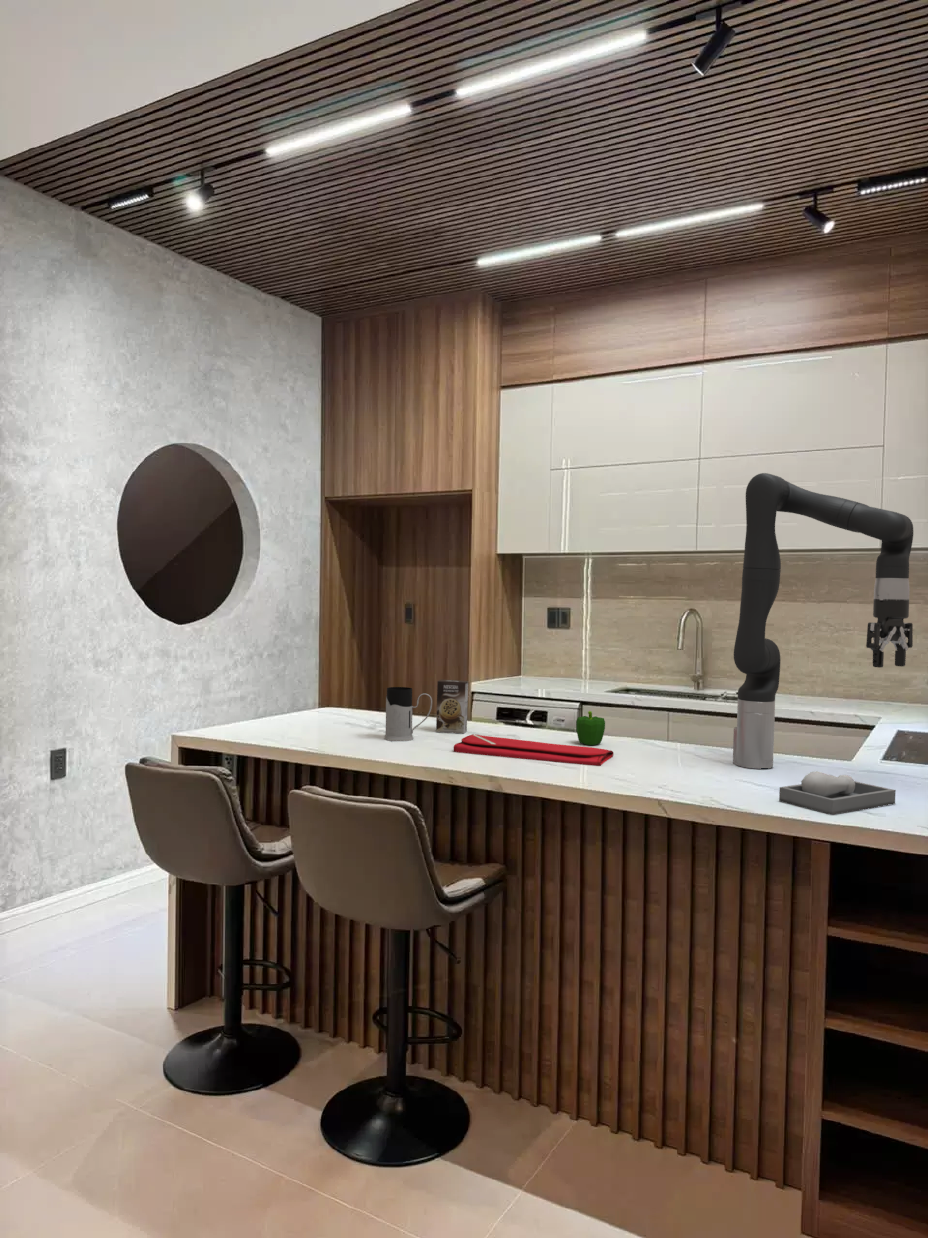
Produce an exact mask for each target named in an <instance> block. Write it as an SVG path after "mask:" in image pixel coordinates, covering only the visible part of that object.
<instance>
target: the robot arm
mask: <svg viewBox="0 0 928 1238" xmlns="http://www.w3.org/2000/svg"><path fill="white" fill-rule="evenodd" d="M777 512H781V513H789V514H796V515H800V516H804V517H808V518H811V519H813V520H816V521H818V522H820V523H824V524H826V525H829V526H832V527H834V528H835V527H836V528H838V529H841V530H845V531H849V532H852V533H858V534H859V533H860V534H862V535H865V536H868V537H871V538H874V539H876V540H880V541H881V545H880V553H879V554H878V556H877V557H876V562H875V581H874V586H873V602H872V603H873V604H872V605H873V607H872V611H873V612H872V615H873V618H875V619H877V622H868V623H867V629H866V630H867V631H866V644H865V646H866V648H867V649H870V650H871V651H872V667H874V668H881V669H882V668H884V657H885V655H884V650H885V648H886V645H888V644H889V643H892V644H893V646H894V648H895V652H894V666H896V667H905V666H906V662H907V661H906V660H907V658H906V656H907V651H908V649H909V648H910V649H911V648H913V646H914V645H913V642H914V641H913V640H914V639H913V636H914V635H913V633H914V631H913V628H914V627H913V622H905V621H904V619H908V618H909V616H910V615H909V614H910V592H911V591H910V589H911V587H910V557H911V552H912V546H913V541H914V525H913V522H912V520H911V518H910V517H909V516H908V515H905V514H903V513H899V512H896V511H893V510H887V509H882V508H878V507H873V506H870V505H867V504H865V503H861V502H860V501H854V500H851V499H847V498H844V497H840V496H839V497H838V496H834V495H829V494H828V495H827V494H823V493H819V492H814V491H811V490H807V489H805V488H802V487H800V486H797V485H795V484H794V483H792V482H789V481H788V480H785V479H784V478H782V477H781V476H778V475H775V474H771V473H768V472H767V473H766V472H762V473H758V474H756V475H754V476H753V477H752V478H751V479H750V480H749V482H748V484H747V486H746V489H745V514H746V516H745V519H746V527H745V530H746V531H745V538H744V539H745V540H744V551H743V552H744V553H743V563H742V575H741V595H740V607H739V618H738V626H737V630H736V635H735V641H734V645H733V646H734V647H733V662H734V665H735V666H736V668H737V670H738V671H740V672H741V673H742V674H745V675H746V676H745V680H744V681H743V683H742V685H741V686H740V687H739V688H738V690H737V706H736V707H737V708H736V709H737V710H736V711H737V713H736V715H737V717H736V726H735V727H734V726H733V727H734V728H733V739H732V740H733V741H732V742H733V745H732V763H733V765H734V764H735V765H736V766H737V767H742V768H747V769H757V770H758V769H759V770H760V769H761V768H768V769H772V768H773V767H774V750H775V748H774V746H775V743H774V742H775V715H776V712H775V711H776V696H777V693H778V690H779V686H780V674H781V652H780V649H779V646H778V645H777V643H775V642H774V641H773V640H772V639H769V638H766V626H767V619H768V618H769V614H770V612H771V609H772V607H773V605H774V604H775V603H774V602H775V601H776V598H777V597H778V596H777V595H778V593H779V590H780V583H781V582H780V581H781V571H782V570H781V568H782V565H781V564H782V563H781V562H782V561H781V555H780V554H781V553H780V550H779V544H778V541H777V534H776V518H777ZM771 767H772V768H771ZM761 770H762V769H761Z"/></svg>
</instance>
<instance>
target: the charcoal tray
mask: <svg viewBox="0 0 928 1238" xmlns="http://www.w3.org/2000/svg"><path fill="white" fill-rule="evenodd" d="M854 782H855V789H854V791H853V792H852V793H851V794H848V795H843V794H841V793H836V794H833V795H830V796H827V797H823V796H819V795H815V794H810V793H806V792H804V791H803V790H802V784H799V783H798V784H793V785H787V786H780V787H779V794H778V795H779V796H778V799H779V802H780V803H782V802H783V803H786V804H788V805H789V804H790V805H791V806H792V805H793V806H797V807H800V808H804V809H807V810H812V811H816V812H819V813H822V814H823V813H824V814H826V815H831V816H835V815H839V814H844V813H846V814H847V813H851V812H856V811H864V810H867V809H868V808H869V809H875V808H879V807H878V806H881V807H884V806H883V805H886V806H889V805H888V804H892V805H894V804H893V803H895V804H896V789H893V788H888V787H883V786H879V785H873V784H870V783H866V782H865V783H864V782H860V781H857V780H854ZM874 807H875V808H874ZM863 809H864V810H863ZM869 809H868V810H869Z"/></svg>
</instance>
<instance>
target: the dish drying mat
mask: <svg viewBox="0 0 928 1238" xmlns="http://www.w3.org/2000/svg"><path fill="white" fill-rule="evenodd" d="M453 753H461V754H469V755H470V754H471V755H479V756H481V755H482V756H491V757H500V758H508V759H509V758H510V759H520V760H521V759H522V760H530V761H531V760H532V761H542V762H551V763H552V762H553V763H561V764H562V763H563V764H564V763H565V764H572V765H573V764H574V765H582V766H583V765H585V766H594V767H595V766H596V767H602V765H603V764H604V763H606V762H607V761H609V760H610V759H611V758H613V757H614V755H615V753H614V751H613V750H611V749H610V750H609V749H605V748H598V747H591V746H580V745H570V744H569V745H568V744H567V745H566V744H558V743H549V742H542V741H533V740H524V739H516V738H515V739H514V738H509V737H507V738H506V737H498V736H490V735H489V736H488V735H481V734H469V735H467V736H465V737H462V738H461V741H460V742H457V743H455V744H453Z"/></svg>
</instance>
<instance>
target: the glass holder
mask: <svg viewBox="0 0 928 1238" xmlns="http://www.w3.org/2000/svg"><path fill="white" fill-rule="evenodd" d="M422 696H427V697H429V699H430V707H429V711H428V712H427V715H426V717H425V718H423V719H422V721H420V722H419V723H418V724H417V725H416V726H414V727H413V709H416V708H418V706H419V701H420V698H421V697H422ZM432 708H433V697H432V696H431V695H430V694H428V693H424V692H423V693H421V694H419V695H418V697H417V700H416V706H413V688H412V687H408V686H407V687H405V686H393V687H392V686H391V687H387V688H386V696H385V734H384V737H383V740H385V741H387V742H388V741H389V742H409V741H414V737H413V734H414V730H415V729H416V728H418V727H419V726H420V725H421V724H422V723H424V722H425V721H426V720H427V719H428V717H429V716H430V713H431V711H432Z"/></svg>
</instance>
